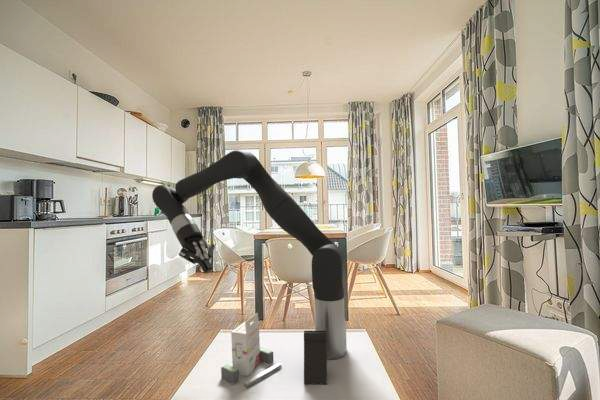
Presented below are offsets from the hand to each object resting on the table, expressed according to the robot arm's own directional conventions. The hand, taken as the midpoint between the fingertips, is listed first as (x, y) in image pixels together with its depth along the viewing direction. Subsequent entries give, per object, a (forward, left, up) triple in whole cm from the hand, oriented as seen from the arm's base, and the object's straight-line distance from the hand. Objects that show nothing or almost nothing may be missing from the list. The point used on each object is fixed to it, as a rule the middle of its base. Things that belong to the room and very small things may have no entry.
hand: (209, 270), depth 106 cm
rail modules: (0, +17, -26) cm, 31 cm away
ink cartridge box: (-1, +16, -26) cm, 31 cm away
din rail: (0, +23, -26) cm, 35 cm away
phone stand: (-9, +34, -26) cm, 44 cm away
